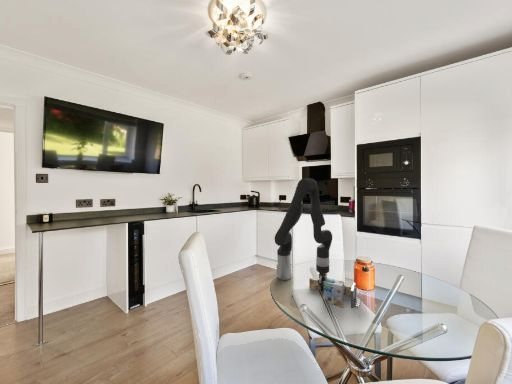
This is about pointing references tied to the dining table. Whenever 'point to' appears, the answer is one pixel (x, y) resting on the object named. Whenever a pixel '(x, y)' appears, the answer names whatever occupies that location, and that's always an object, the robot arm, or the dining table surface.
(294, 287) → the dining table surface
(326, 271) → the robot arm
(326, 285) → the light bulb box
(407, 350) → the dining table surface
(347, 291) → the shelf
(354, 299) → the bookend
